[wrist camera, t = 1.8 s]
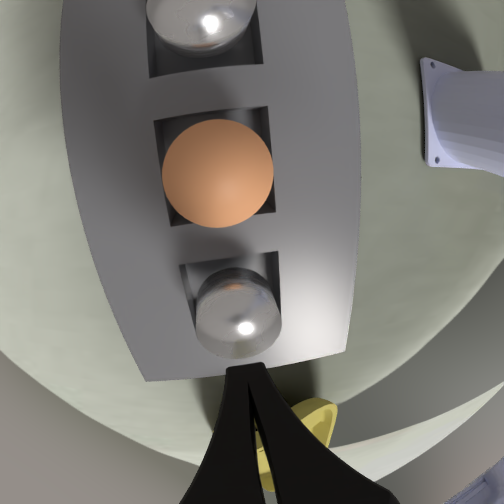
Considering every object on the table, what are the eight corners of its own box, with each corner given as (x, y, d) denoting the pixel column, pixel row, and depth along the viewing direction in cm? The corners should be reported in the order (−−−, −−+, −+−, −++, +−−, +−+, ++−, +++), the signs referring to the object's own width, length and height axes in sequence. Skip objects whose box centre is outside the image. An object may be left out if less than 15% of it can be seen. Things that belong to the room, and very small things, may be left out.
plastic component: (325, 456, 29) (264, 498, 24) (290, 423, 34) (232, 461, 30) (344, 384, 19) (235, 463, 15) (284, 336, 24) (186, 393, 20)
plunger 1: (243, -15, 8) (251, -40, 6) (251, 54, 10) (261, 38, 8) (156, -5, 8) (146, -28, 6) (158, 65, 10) (147, 51, 7)
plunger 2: (269, 261, 14) (280, 286, 12) (273, 323, 16) (282, 351, 14) (190, 273, 14) (187, 300, 12) (204, 333, 16) (205, 363, 13)
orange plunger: (258, 117, 11) (268, 114, 9) (265, 204, 13) (277, 220, 11) (165, 129, 11) (154, 128, 9) (178, 215, 13) (172, 234, 10)
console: (312, -34, 10) (330, -55, 7) (330, 325, 21) (345, 351, 18) (85, -8, 8) (67, -26, 6) (150, 352, 20) (145, 381, 17)
